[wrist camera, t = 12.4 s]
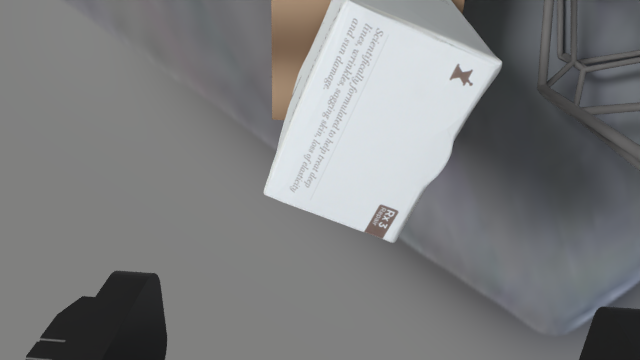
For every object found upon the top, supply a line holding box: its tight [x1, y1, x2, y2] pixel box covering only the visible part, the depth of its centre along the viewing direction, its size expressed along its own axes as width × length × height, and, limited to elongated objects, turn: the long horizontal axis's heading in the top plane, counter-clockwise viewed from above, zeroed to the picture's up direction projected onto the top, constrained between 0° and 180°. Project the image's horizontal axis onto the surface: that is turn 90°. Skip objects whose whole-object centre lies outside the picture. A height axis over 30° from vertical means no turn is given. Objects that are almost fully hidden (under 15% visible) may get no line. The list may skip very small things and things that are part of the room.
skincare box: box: [264, 0, 502, 243], centre depth 25 cm, size 8×6×15 cm
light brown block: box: [271, 0, 465, 120], centre depth 35 cm, size 11×11×6 cm
